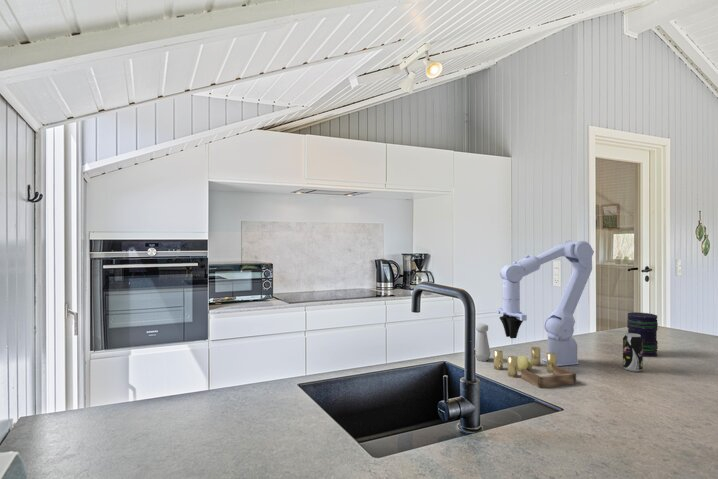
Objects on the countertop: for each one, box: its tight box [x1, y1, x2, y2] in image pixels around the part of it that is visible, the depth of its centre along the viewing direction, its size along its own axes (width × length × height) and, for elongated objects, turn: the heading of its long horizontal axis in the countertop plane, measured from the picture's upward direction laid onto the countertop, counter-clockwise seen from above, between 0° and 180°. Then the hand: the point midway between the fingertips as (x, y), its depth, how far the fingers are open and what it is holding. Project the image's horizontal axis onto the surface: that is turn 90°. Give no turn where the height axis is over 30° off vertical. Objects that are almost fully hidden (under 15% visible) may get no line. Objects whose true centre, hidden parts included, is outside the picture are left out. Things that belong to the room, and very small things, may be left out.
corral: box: [520, 366, 577, 389], centre depth 137 cm, size 13×9×3 cm
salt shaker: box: [475, 323, 491, 362], centre depth 161 cm, size 6×6×13 cm
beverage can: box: [622, 332, 644, 373], centre depth 148 cm, size 6×6×12 cm
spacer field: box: [493, 346, 557, 378], centre depth 148 cm, size 18×11×6 cm, turn 106°
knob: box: [517, 355, 533, 372], centre depth 149 cm, size 5×5×5 cm
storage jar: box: [626, 311, 659, 358], centre depth 168 cm, size 10×10×15 cm
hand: (511, 337), depth 156 cm, fingers closed
